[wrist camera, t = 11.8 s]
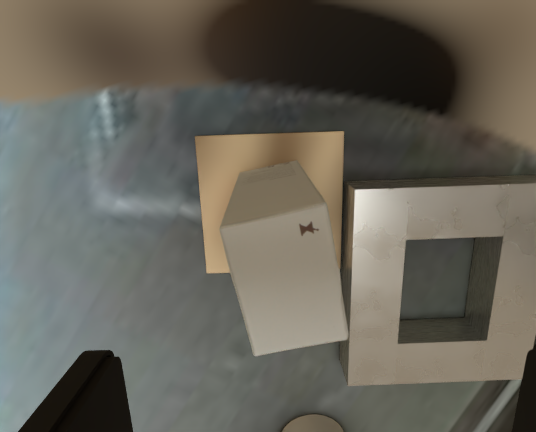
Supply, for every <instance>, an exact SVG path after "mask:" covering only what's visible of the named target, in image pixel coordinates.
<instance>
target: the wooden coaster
mask: <svg viewBox="0 0 536 432" xmlns="http://www.w3.org/2000/svg"><path fill="white" fill-rule="evenodd" d="M195 144H196V155H197V166H198V178H199V189H200V201H201V212H202V224H203V235H204V247H205V258H206V270H207V273H230V270H229V266H228V262H227V258H226V254H225V250H224V246H223V242H222V238H221V234H220V230H219V228H220V225H221V223H222V220H223V217H224V214H225V211H226V209H227V206H228V203H229V200H230V198H231V195H232V192H233V189H234V187H235V184H236V181H237V178H238V176H239V173H240V172H244V171H249V170H254V169H258V168H263V167H267V166H271V165H276V164H281V163H286V162H291V161H295V160H297V161H298V162H299V163H300V165H301V166H302V168H303V169H304V171H305V172H306V174H307V175H308V177H309V178H310V180H311V181H312V183H313V184H314V185H315V187H316V188H317V190H318V191H319V193H320V194H321V195H322V197H323V198H324V200H325V202H326V203H327V207H328V211H329V217H330V222H331V228H332V234H333V239H334V245H335V250H336V256H337V263H338V267H339V268H340V264H341V227H342V189H343V151H344V131H327V132H298V133H268V134H239V135H209V136H195Z"/></svg>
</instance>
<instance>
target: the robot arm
mask: <svg viewBox="0 0 536 432" xmlns="http://www.w3.org/2000/svg"><path fill="white" fill-rule="evenodd" d="M18 432H133V428H132V422H131V416H130V410H129V405H128V399H127V393H126V387H125V381H124V375H123V369H122V363H121V359H120V358H119V357H114V354H113V352H112V351H110V350H95V351H84V352H83V353H82V354H81V355H80V356H79V357H78V358H77V360H76V361H75V362H74V363H73V365H72V366H71V367H70V368H69V369H68V371H67V372H66V373H65V374H64V376H63V377H62V378H61V379H60V381H59V382H58V383H57V384H56V386H55V387H54V388H53V389H52V390H51V392H50V393H49V394H48V395H47V397H46V398H45V399H44V400H43V402H42V403H41V404H40V405H39V406H38V408H37V409H36V410H35V411H34V413H33V414H32V415H31V416H30V418H29V419H28V420H27V421H26V423H25V424H24V425H23V426H22V427H21V429H20V430H19V431H18ZM512 432H536V344H535V345H534V347H533V349H532V350H529V351H528V353H527V356H526V361H525V367H524V372H523V377H522V382H521V387H520V392H519V398H518V403H517V408H516V413H515V418H514V424H513V429H512Z"/></svg>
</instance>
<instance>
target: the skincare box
mask: <svg viewBox="0 0 536 432" xmlns="http://www.w3.org/2000/svg"><path fill="white" fill-rule="evenodd" d="M219 230H220V234H221V238H222V242H223V246H224V250H225V254H226V258H227V262H228V266H229V270H230V274H231V277H232V280H233V284H234V287H235V290H236V294H237V297H238V300H239V304H240V307H241V311H242V314H243V318H244V322H245V325H246V329H247V332H248V336H249V340H250V343H251V347H252V351H253V354H254V356H260V355H264V354H269V353H275V352H280V351H285V350H290V349H296V348H302V347H307V346H313V345H319V344H325V343H331V342H337V341H344V340H347V339H348V337H349V332H348V327H347V321H346V314H345V308H344V302H343V296H342V288H341V277H340V271H339V267H338V263H337V256H336V250H335V245H334V239H333V234H332V228H331V222H330V217H329V211H328V207H327V203H326V202H325V200H324V198H323V197H322V195H321V194H320V193H319V191H318V190H317V188H316V187H315V185H314V184H313V183H312V181H311V180H310V178H309V177H308V175H307V174H306V172H305V171H304V169H303V168H302V166H301V165H300V163H299V162H298V161H297V160H295V161H291V162H286V163H281V164H276V165H271V166H267V167H263V168H258V169H254V170H249V171H244V172H240V173H239V176H238V178H237V181H236V184H235V187H234V189H233V192H232V195H231V198H230V200H229V203H228V206H227V209H226V211H225V214H224V217H223V220H222V223H221V225H220V228H219Z"/></svg>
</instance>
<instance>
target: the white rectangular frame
mask: <svg viewBox="0 0 536 432" xmlns="http://www.w3.org/2000/svg"><path fill="white" fill-rule="evenodd" d="M470 237H475V242H474V249H473V256H472V264H471V271H470V278H469V286H468V293H467V300H466V307H465V315H464V318H443V319H417V320H399V319H400V306H401V294H402V281H403V269H404V257H405V244H406V240H415V239H442V238H470ZM341 288H342V296H343V302H344V308H345V314H346V321H347V327H348V332H349V337H348V339H347V340H344V341H340V354H339V360H340V363H341V366H342V369H343V372H344V376H345V379H346V382H347V385H348V386H358V385H384V384H409V383H435V382H461V381H486V380H512V379H522V377H523V372H524V367H525V361H526V356H527V353H528V351H529V350H532V349H533V345H534V340H535V335H536V175H507V176H478V177H450V178H421V179H392V180H364V181H344V210H343V246H342V282H341Z"/></svg>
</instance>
